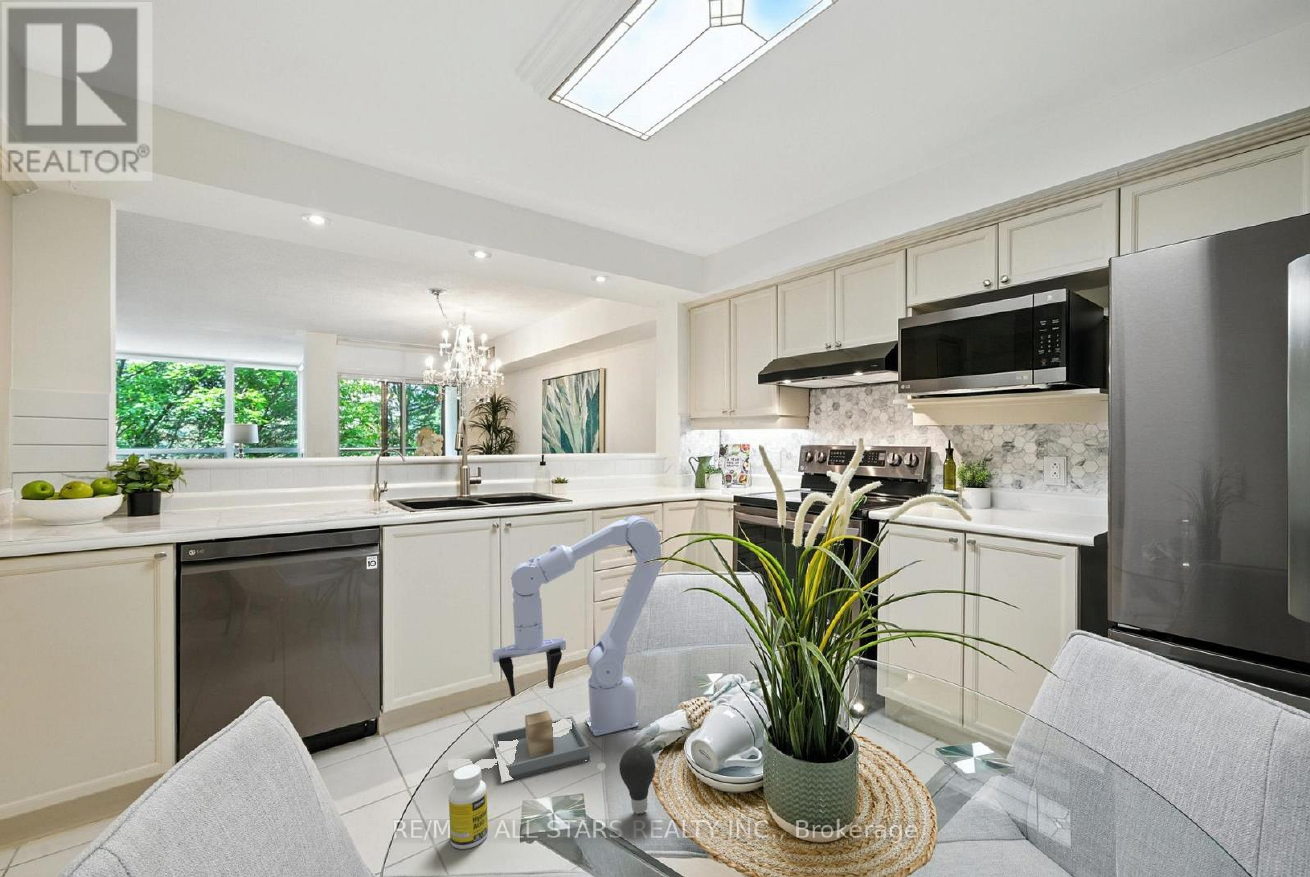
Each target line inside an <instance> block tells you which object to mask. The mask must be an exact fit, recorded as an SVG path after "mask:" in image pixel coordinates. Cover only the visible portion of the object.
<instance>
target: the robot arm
mask: <svg viewBox="0 0 1310 877" xmlns="http://www.w3.org/2000/svg"><path fill="white" fill-rule="evenodd" d="M656 526H657V525H656V524H655V523H654V521H652V520H651V519H648V518H644V517H643V516H640V515H637V514H633V515H629V516H627V517H625V518H624V519H620V520H616V521H614V522H613V523H610V524H609V525H606V526H605V527H603V528H602V529H600V530H598V531H596V532H594V533H592V534H591V535H588V536H587V537H585V538H584V539H581V540H580V541H578V542H576V543H574V544H573V545H571V546H567V545H563V544H560V545H558V546H557V545H556V544H553V545H551V546H549V548H550V550H548V551H546V552H544V553H542V554H541V555H538V556H537V557H533V556H531V557H530V558H528V562H521V563H519V564H517V565H516V567H514V569H513V570H512V573H511V577H510V580H511V586H512V588H513V593H512V598H513V601H512V611H513V629H514V631H513V632H514V644H511V645H506V646H504V647H499V648H495V649H492V651H491V652H492V653H491V654H492V661H493V663H498V664H499V667H500V668H501V670H502V672H503V674H504V676H505V678H506V681H507V683H508V688H509V694H510V696H511V697H515V696H516V689H515V682H514V664H513V659H514V658H520V657H526V656H530V655H531V656H532V655H536V654H542V653H545V655H546V663H547V664H546V666H547V686H548V688H549V689H554V684H555V678H556V674H557V669H558V667H559V665H560V662H561V660H562V657H563V653H562V651H565V650H567V643H566V642H567V641H566V639H565V638H564V637H559V638H546V639H544V626H543V625H544V622H543V606H542V603H543V602H542V598H541V595H540V594H541V593H540V591H541V590H540V589H541V587H542V585H543V584H545V585H546V584H549V583H550V582H552V581H555V580H556V579H558V578H560V577H562V576H563V575H566V574H568V573H569V572H571V571H573V570H574V569H575V566H576V563H577V562H578V561H579V560H581V559H583V558H585V557H588V556H590V555H592V554H594V553H596V552H598V551H600V550H602V549H605V548H607V547H609V546H611V545H614V546H615V545H616V546H623V547H624V546H625V547H626V546H629V547H630V548H631V551H632V554H633V556H634V558H635V560H636V565H635V567H634V569H633V572H632V573H631V576H630V578H629V580H628V582H627V585H626V587H625V589H624V591H623V592H622V593H623V594H622V595H621V598H620V600H619V602H618V604H617V607H616V608H615V611H614V612H613V615H612V617H611V620H610V622H609V625H608V626H607V629H606V630H605V632H603V633H602V635H600V637H599V639H598V641H597V642H596V643H595V645H593V646H592V647H591V648H590V649H589V651H588V653H587V657H586V661H587V665H588V667H589V669H590V671H591V674H590V677H589V678H588V680H587V681H588V682H587V683H588V698H589V702H588V703H589V717H586V718H585V719H584V722H585V721H586V722H591V726H589V727H588V728H589V729H590V732H591V733H592V732H593V733H592V735H593V737H599V736H602V735H607V734H611V733H614V732H618V731H623V730H628V729H631V728H635V727H638V726H639V722H638V714H637V713H638V712H637V697H636V688H635V684H634V680H633V679H632V678H631V677H630V676H624V677H623V673H624V662H625V659H626V656H627V649H628V642H629V639H630V638H631V635H632V633H633V631H634V628H635V627H636V624H637V622H638V620H639V618H640V616H641V614H642V611H643V609H644V607H645V604H646V603H647V600H648V597H649V595H650V593H651V590H652V589H653V586H654V584H655V581H656V579H657V578H658V575H659V572H660V571H661V568H662V566H663V560H662V561H652V562H647V563H644V562H645V561H648V560H651V559H655V558H662V549H661V548H662V547H661V539H662V537H661V536H662V535H661V534H660V532H659V530H658V528H657V527H656ZM586 722H585V723H586Z"/></svg>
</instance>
